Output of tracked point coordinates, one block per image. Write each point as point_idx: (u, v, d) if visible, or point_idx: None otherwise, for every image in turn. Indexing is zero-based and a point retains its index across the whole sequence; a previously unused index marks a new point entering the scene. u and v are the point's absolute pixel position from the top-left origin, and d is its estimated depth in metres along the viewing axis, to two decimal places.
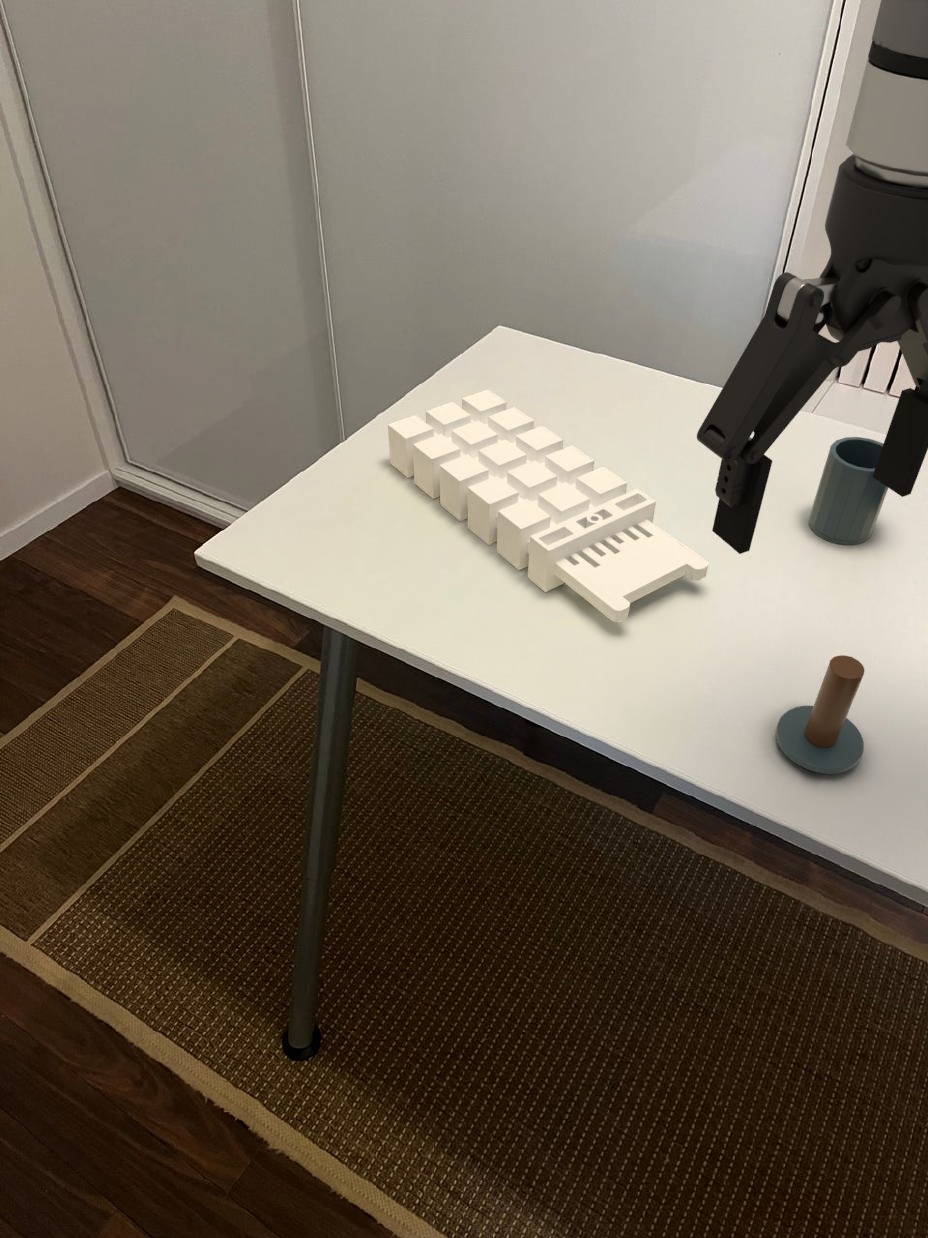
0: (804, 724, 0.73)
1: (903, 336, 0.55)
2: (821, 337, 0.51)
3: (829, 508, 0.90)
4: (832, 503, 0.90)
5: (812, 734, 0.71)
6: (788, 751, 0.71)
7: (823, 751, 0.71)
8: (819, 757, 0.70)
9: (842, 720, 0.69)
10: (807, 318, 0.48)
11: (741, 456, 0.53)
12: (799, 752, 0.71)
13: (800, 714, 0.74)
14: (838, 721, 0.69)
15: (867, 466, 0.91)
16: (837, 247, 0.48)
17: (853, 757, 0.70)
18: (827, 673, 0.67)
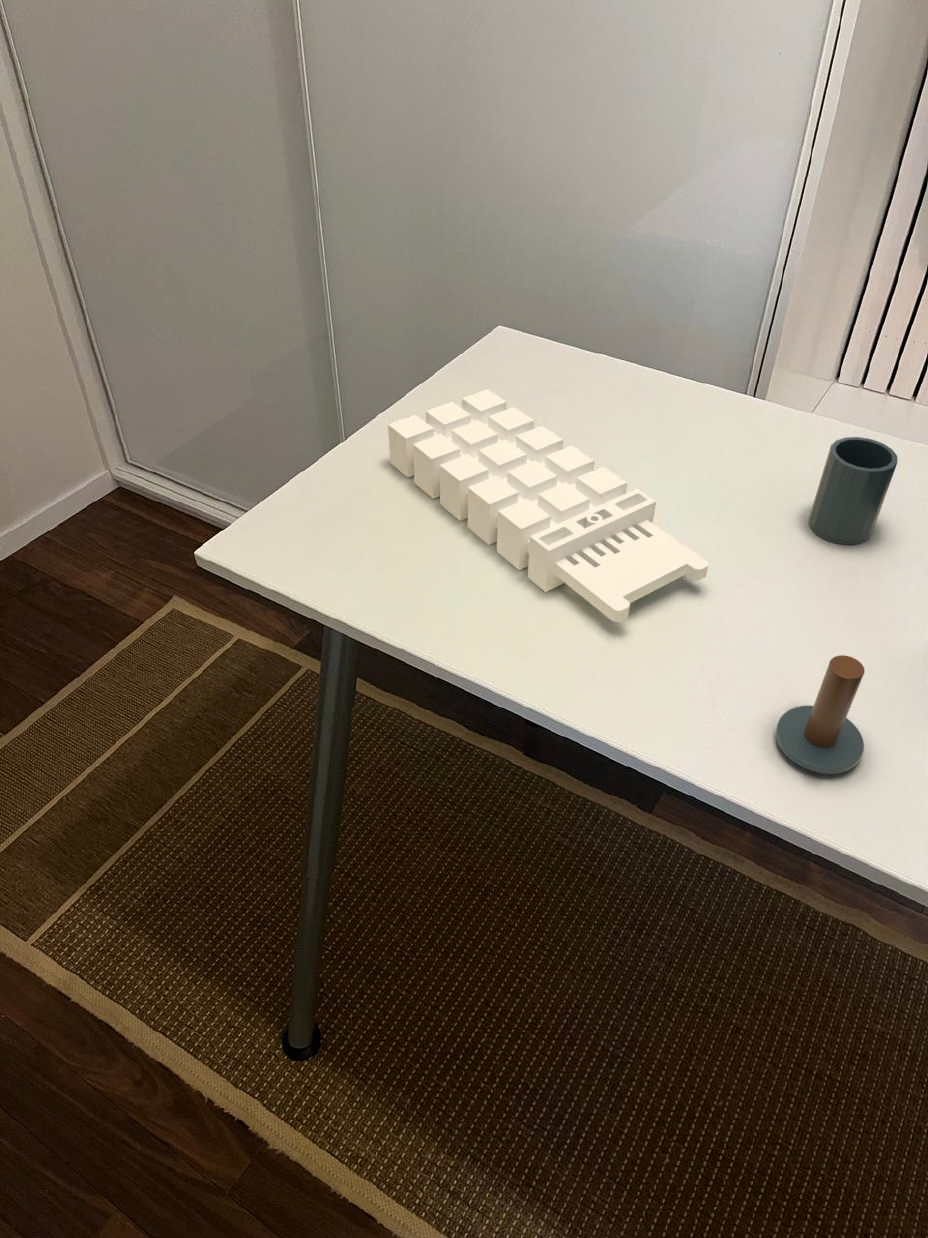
0: (804, 724, 0.73)
1: None
2: None
3: (829, 508, 0.90)
4: (832, 503, 0.90)
5: (812, 734, 0.71)
6: (788, 751, 0.71)
7: (823, 751, 0.71)
8: (819, 757, 0.70)
9: (842, 720, 0.69)
10: None
11: None
12: (799, 752, 0.71)
13: (800, 714, 0.74)
14: (838, 721, 0.69)
15: (867, 466, 0.91)
16: None
17: (853, 757, 0.70)
18: (827, 673, 0.67)
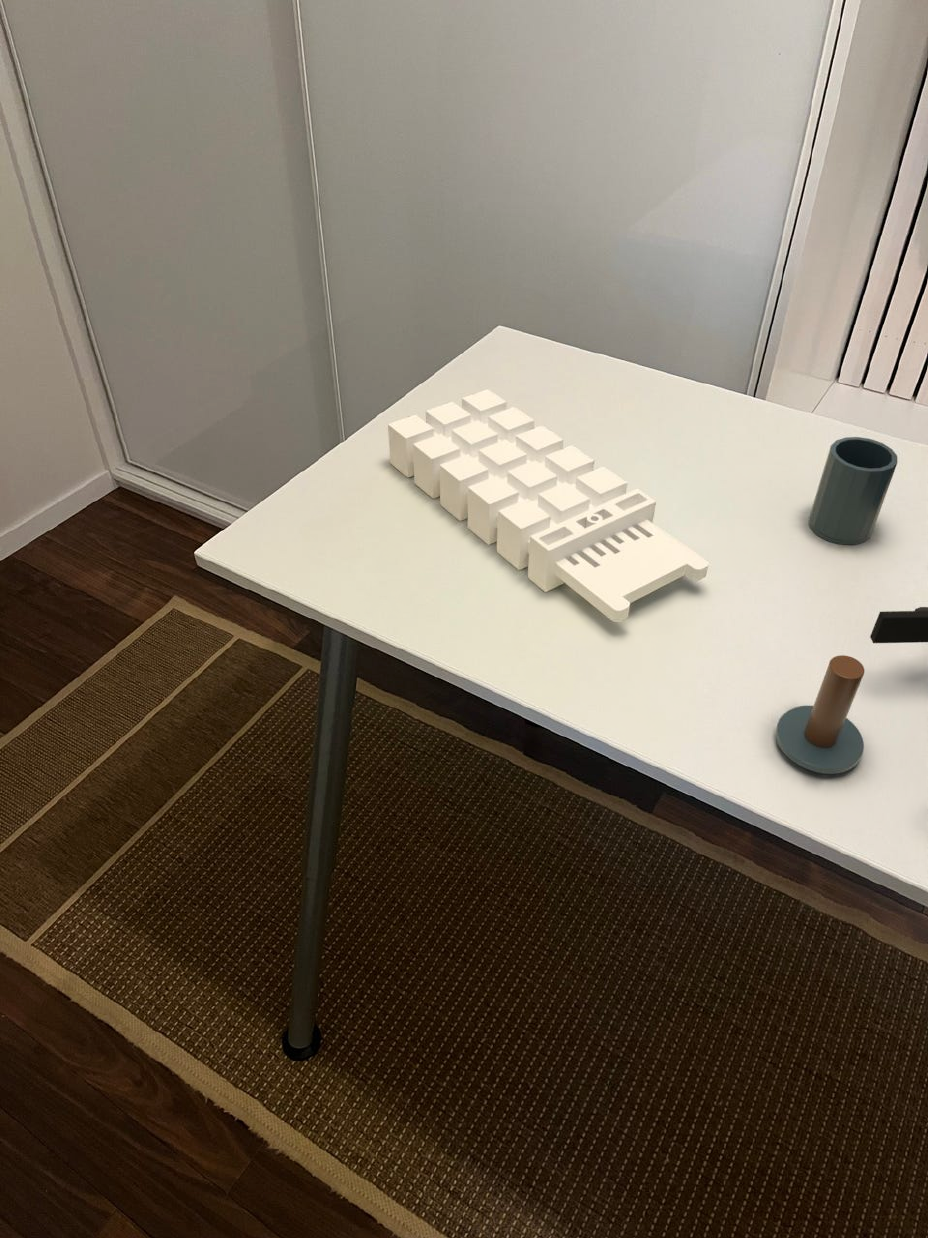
0: (804, 724, 0.73)
1: None
2: None
3: (829, 508, 0.90)
4: (832, 503, 0.90)
5: (812, 734, 0.71)
6: (788, 751, 0.71)
7: (823, 751, 0.71)
8: (819, 757, 0.70)
9: (842, 720, 0.69)
10: None
11: None
12: (799, 752, 0.71)
13: (800, 714, 0.74)
14: (838, 721, 0.69)
15: (867, 466, 0.91)
16: None
17: (853, 757, 0.70)
18: (827, 673, 0.67)
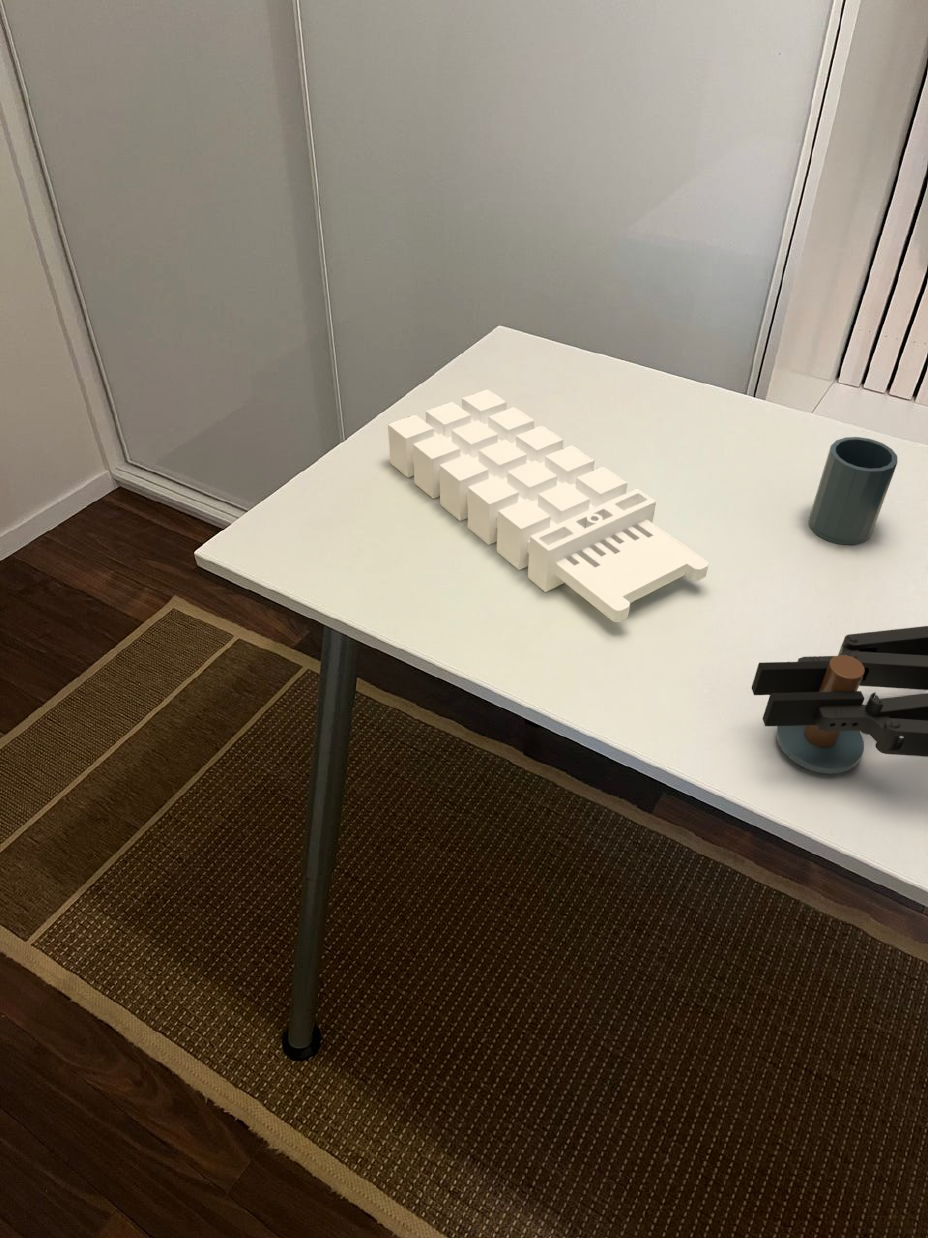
0: None
1: None
2: None
3: (829, 508, 0.90)
4: (832, 503, 0.90)
5: (812, 734, 0.71)
6: (788, 751, 0.71)
7: (823, 751, 0.71)
8: (819, 757, 0.70)
9: None
10: None
11: None
12: (799, 752, 0.71)
13: None
14: None
15: (867, 466, 0.91)
16: None
17: (853, 757, 0.70)
18: (827, 673, 0.67)
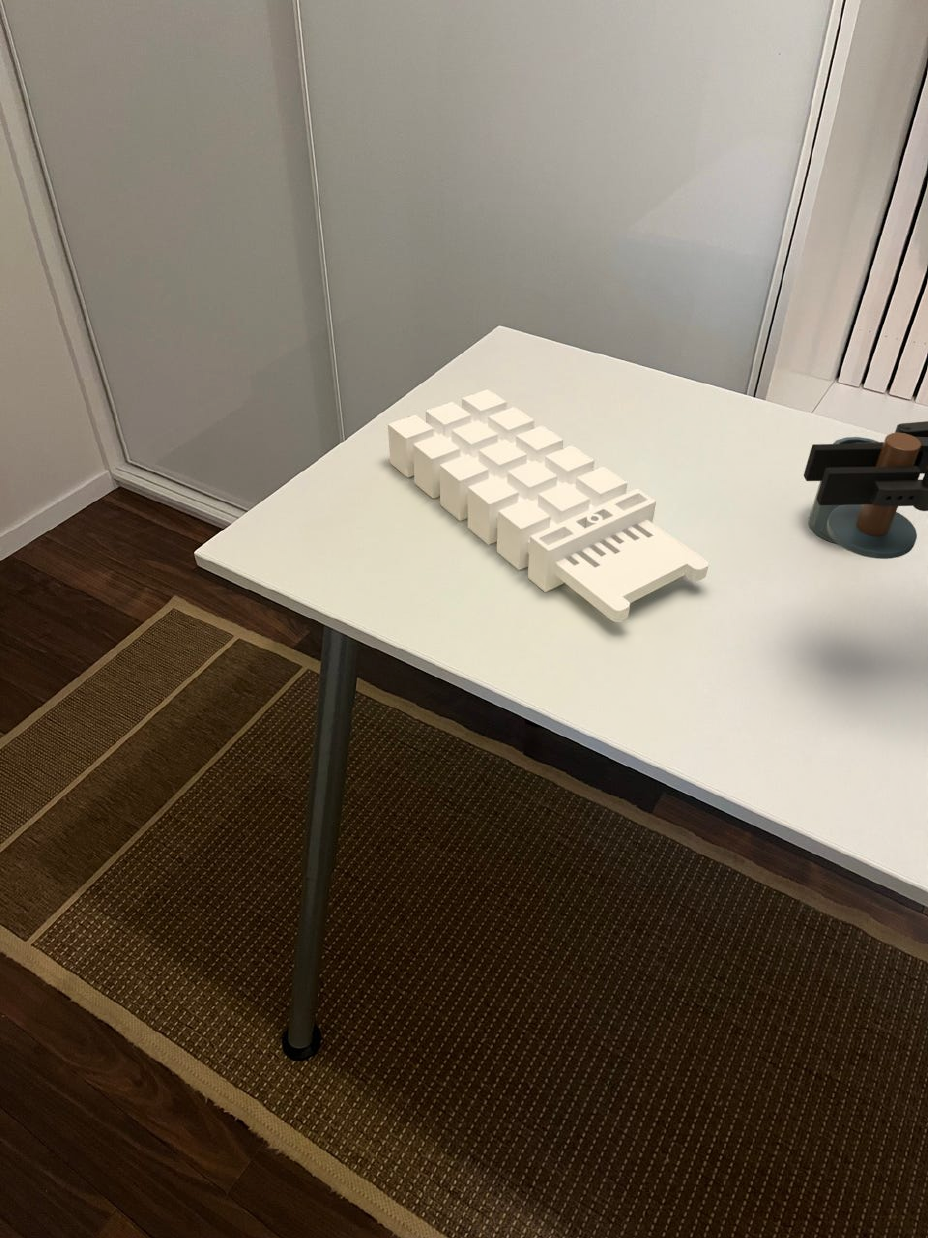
0: (855, 517, 0.72)
1: None
2: None
3: (829, 508, 0.90)
4: None
5: (865, 522, 0.70)
6: (840, 538, 0.70)
7: (876, 538, 0.70)
8: (872, 543, 0.70)
9: None
10: None
11: None
12: (852, 539, 0.70)
13: (851, 509, 0.73)
14: None
15: None
16: None
17: (906, 543, 0.70)
18: (883, 449, 0.67)
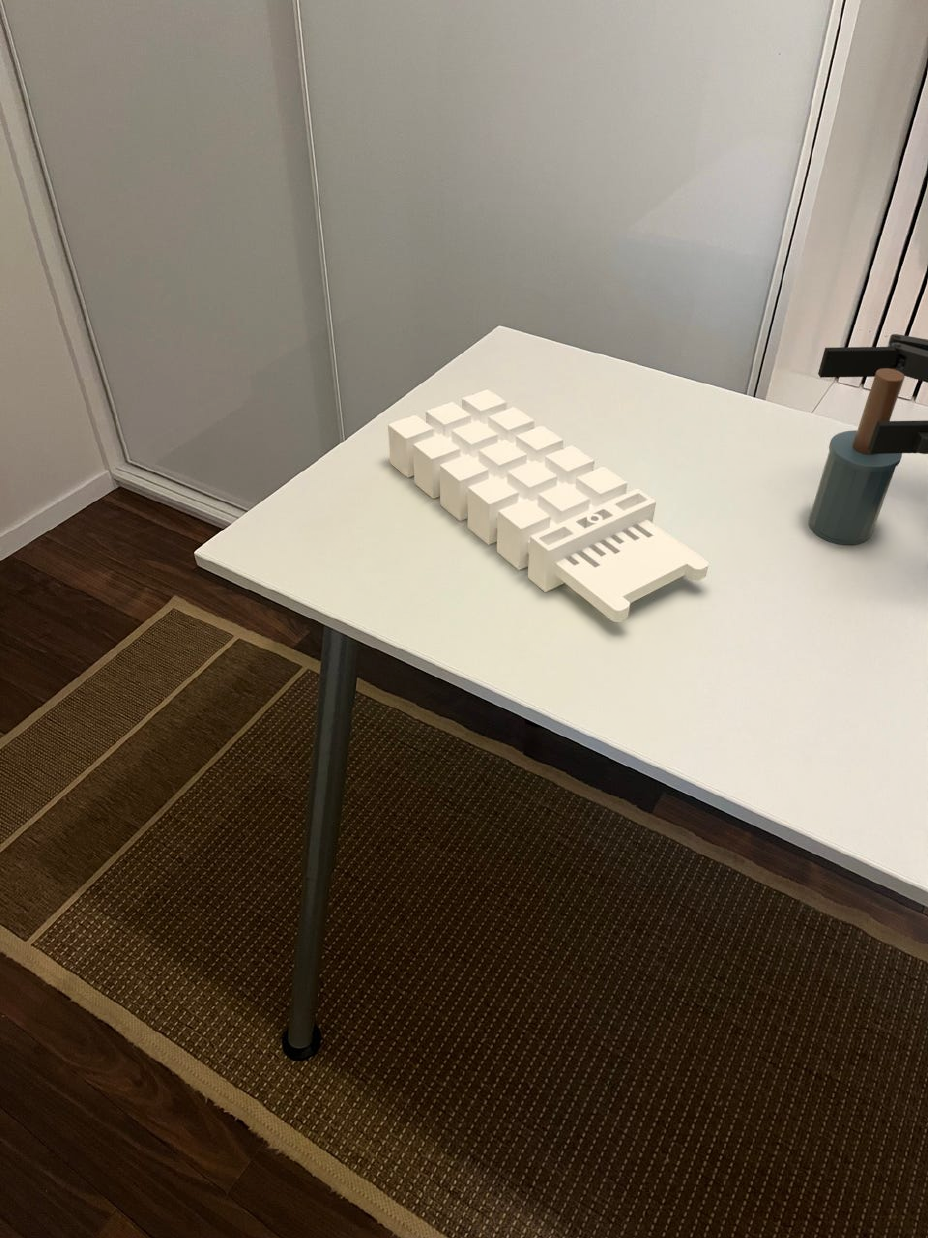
0: (852, 441, 0.89)
1: None
2: None
3: (829, 508, 0.90)
4: (832, 503, 0.90)
5: (860, 442, 0.87)
6: (840, 456, 0.87)
7: (869, 456, 0.87)
8: (866, 460, 0.86)
9: None
10: None
11: (891, 346, 0.90)
12: (849, 457, 0.87)
13: (848, 435, 0.90)
14: None
15: None
16: None
17: (893, 460, 0.86)
18: (874, 381, 0.83)
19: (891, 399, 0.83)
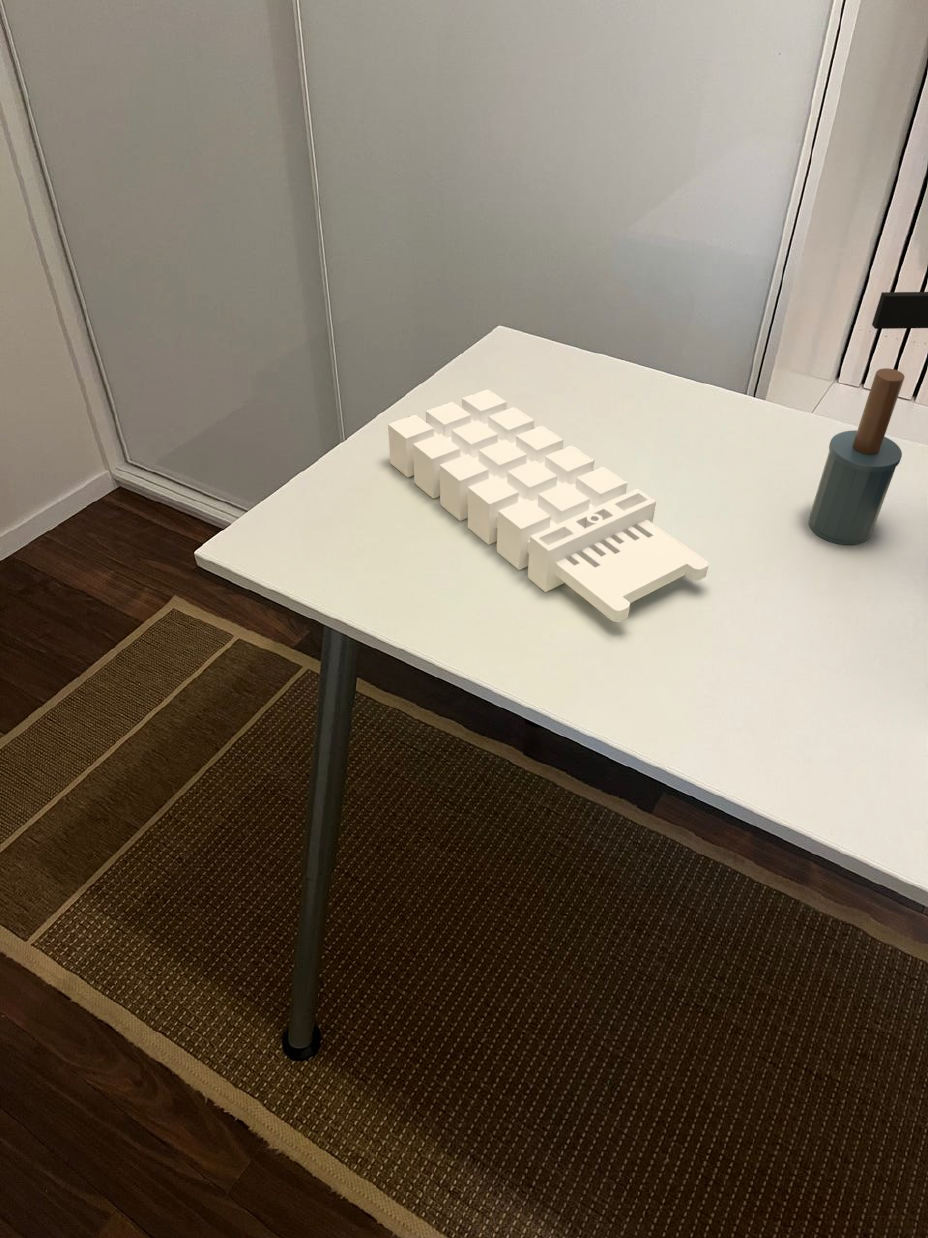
0: (852, 441, 0.89)
1: None
2: None
3: (829, 508, 0.90)
4: (832, 503, 0.90)
5: (860, 442, 0.87)
6: (840, 456, 0.87)
7: (869, 456, 0.87)
8: (866, 460, 0.86)
9: (885, 425, 0.85)
10: None
11: None
12: (849, 457, 0.87)
13: (848, 435, 0.90)
14: (882, 425, 0.85)
15: None
16: None
17: (893, 460, 0.86)
18: (874, 381, 0.83)
19: (891, 399, 0.83)
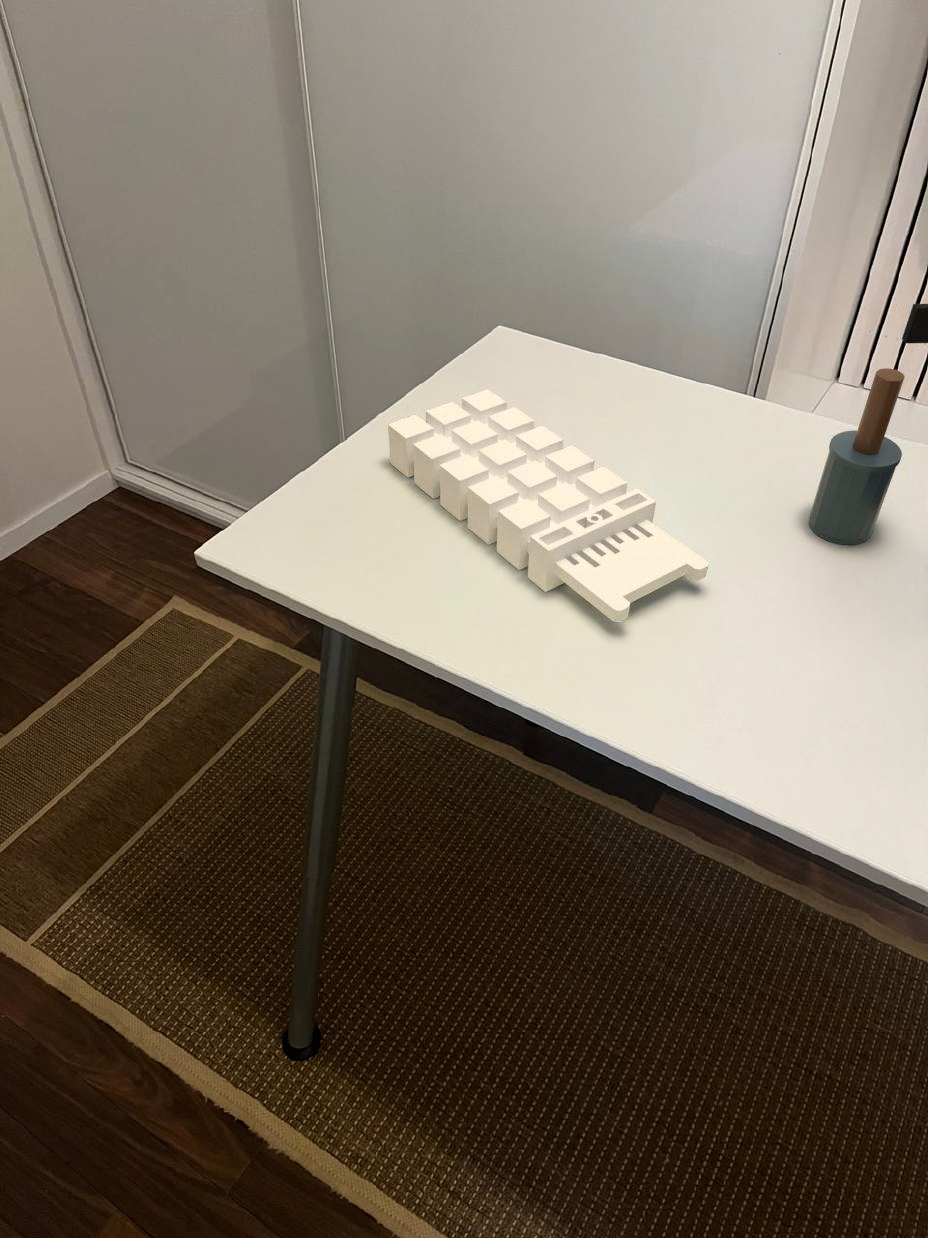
0: (852, 441, 0.89)
1: None
2: None
3: (829, 508, 0.90)
4: (832, 503, 0.90)
5: (860, 442, 0.87)
6: (840, 456, 0.87)
7: (869, 456, 0.87)
8: (866, 460, 0.86)
9: (885, 425, 0.85)
10: None
11: None
12: (849, 457, 0.87)
13: (848, 435, 0.90)
14: (882, 425, 0.85)
15: None
16: None
17: (893, 460, 0.86)
18: (874, 381, 0.83)
19: (891, 399, 0.83)
